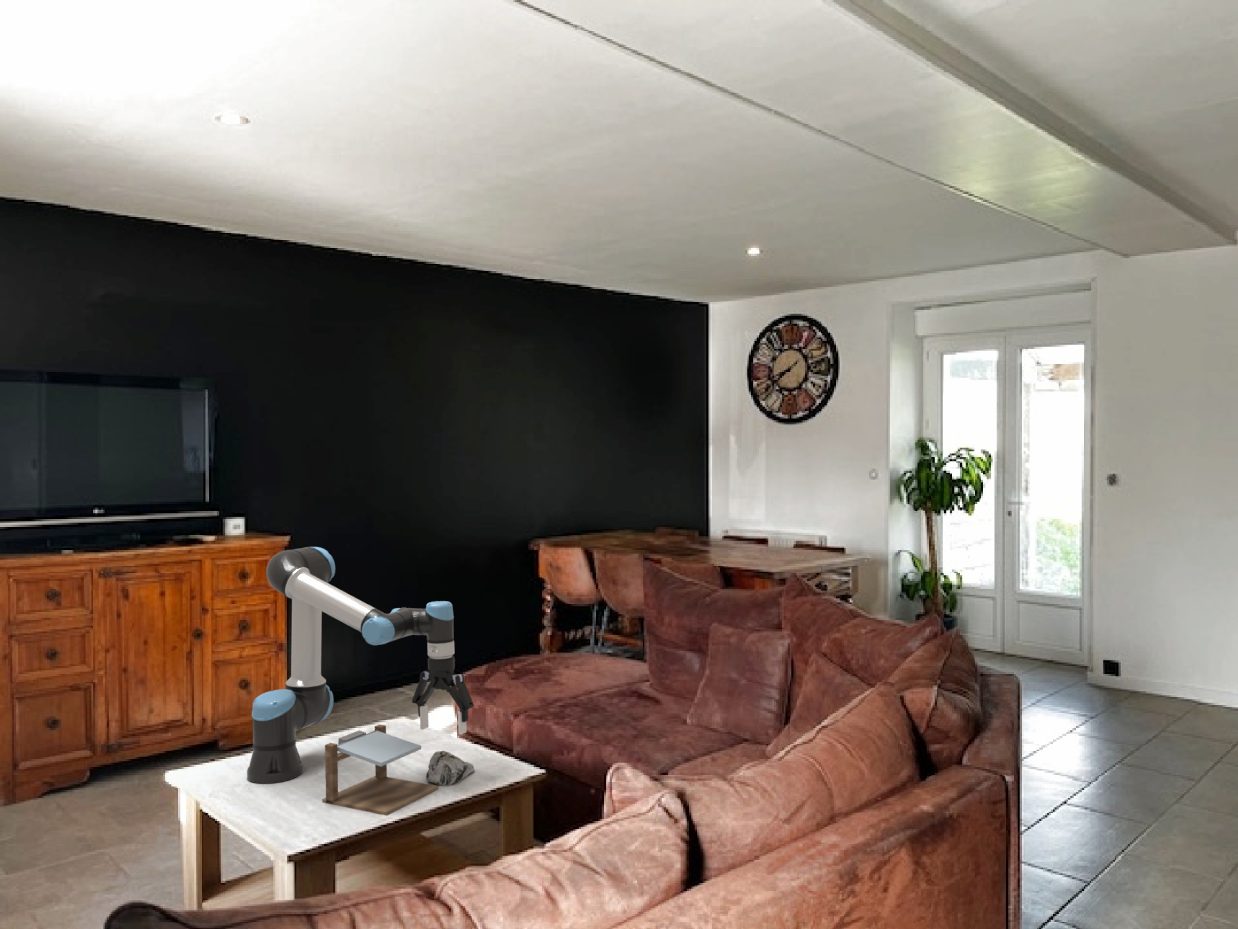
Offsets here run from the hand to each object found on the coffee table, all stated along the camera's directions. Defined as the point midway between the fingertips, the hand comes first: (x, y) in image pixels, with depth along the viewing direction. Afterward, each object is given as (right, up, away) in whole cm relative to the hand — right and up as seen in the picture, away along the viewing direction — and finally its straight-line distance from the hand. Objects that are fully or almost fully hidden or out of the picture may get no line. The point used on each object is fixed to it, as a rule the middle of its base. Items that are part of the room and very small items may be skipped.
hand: (443, 731), depth 266 cm
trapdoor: (-16, -1, -13) cm, 21 cm away
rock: (+2, -14, 0) cm, 14 cm away
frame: (-14, -14, -14) cm, 24 cm away
